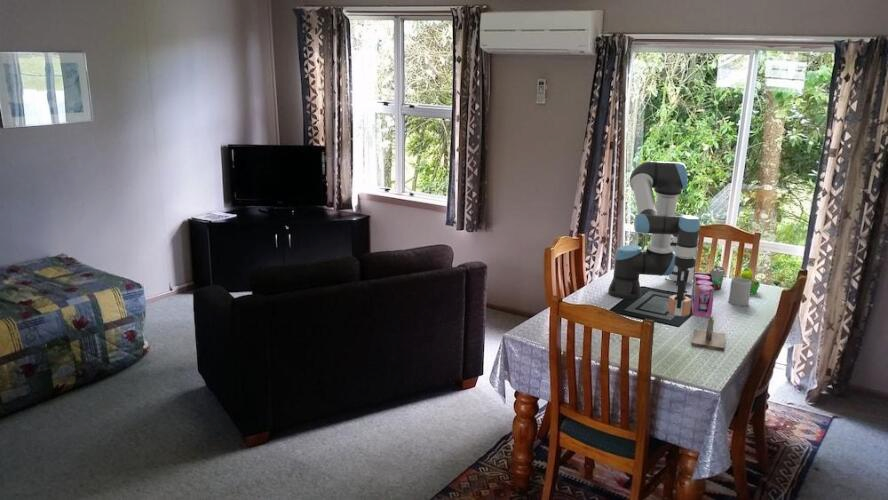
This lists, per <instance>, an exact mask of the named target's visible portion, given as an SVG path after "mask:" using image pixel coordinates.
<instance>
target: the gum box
mask: <svg viewBox="0 0 888 500" xmlns="http://www.w3.org/2000/svg"><path fill="white" fill-rule="evenodd" d="M692 282H693V284H692V285H691V295H690V296H691V297H690V299H691V313H692V316H695V317H704V318H709V319H710V316H712V314H713V313H712V312H713V307H714V306H713V304H714V299H715V298H714V297H715V290H714V288H715V285H714V283H713V279H712V274H710V273H702V272H695V273H694V276H693V280H692Z"/></svg>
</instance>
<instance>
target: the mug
mask: <svg viewBox="0 0 888 500" xmlns="http://www.w3.org/2000/svg"><path fill="white" fill-rule="evenodd" d="M750 289H751V281H750V280H748V279H745V278H741V277H733V278H731V281H730V288H729V297H728V303H729V304H731V305H734V306H739V307H746V306H748V305H749V303H750V294H751V293H750Z"/></svg>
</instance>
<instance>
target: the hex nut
mask: <svg viewBox="0 0 888 500" xmlns="http://www.w3.org/2000/svg"><path fill="white" fill-rule="evenodd" d="M676 296H677V294H673V295H669V296H668V302H667V303H668V305H667V312H668V313H669V314H671V315H672V316H675V315H674V312H675V304H676V300H675V299H674V298H676ZM691 309H692V306H691V297H690V298H689V297H688V296H687V295H685V296H683V308H682V316H681V317H686V316H689V315H690V314H691Z"/></svg>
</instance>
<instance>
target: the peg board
mask: <svg viewBox="0 0 888 500" xmlns="http://www.w3.org/2000/svg"><path fill="white" fill-rule="evenodd" d="M714 323H715V320H714V315H713V316H712V315H711V316H710V318H709V319H707V323H706V324H707V325H706V330H704V329H698V328H696V329H695V328H693V331H692V336H691V337H692V338H691V343H690V346H691V347H698V348H704V349H709V350H710V349H711V350H716V351H722V352H725V349H726V348H725V347H726V333H722V332H717V331H714Z"/></svg>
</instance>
